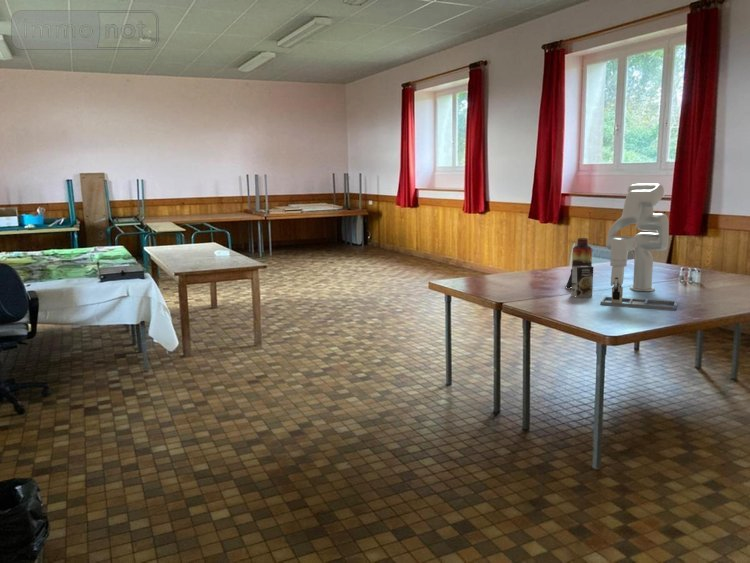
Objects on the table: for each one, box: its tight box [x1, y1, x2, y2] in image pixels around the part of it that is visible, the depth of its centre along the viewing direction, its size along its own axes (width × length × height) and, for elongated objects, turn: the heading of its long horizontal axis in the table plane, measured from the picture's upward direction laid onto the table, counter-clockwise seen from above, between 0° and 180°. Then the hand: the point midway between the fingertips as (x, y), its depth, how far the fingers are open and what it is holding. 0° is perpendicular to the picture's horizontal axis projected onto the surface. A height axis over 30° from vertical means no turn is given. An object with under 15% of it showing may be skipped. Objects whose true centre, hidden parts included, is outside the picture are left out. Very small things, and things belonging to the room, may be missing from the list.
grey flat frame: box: [599, 296, 678, 311], centre depth 302 cm, size 14×34×2 cm, turn 62°
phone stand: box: [565, 268, 572, 288], centre depth 346 cm, size 9×6×12 cm, turn 44°
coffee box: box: [570, 265, 594, 298], centre depth 325 cm, size 9×6×16 cm
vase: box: [571, 237, 593, 267], centre depth 366 cm, size 11×11×26 cm
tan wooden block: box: [610, 286, 624, 303], centre depth 306 cm, size 4×4×8 cm
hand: (617, 297), depth 306 cm, fingers open, 6 cm apart
